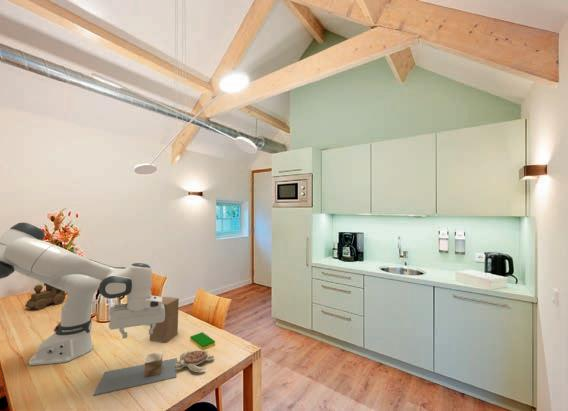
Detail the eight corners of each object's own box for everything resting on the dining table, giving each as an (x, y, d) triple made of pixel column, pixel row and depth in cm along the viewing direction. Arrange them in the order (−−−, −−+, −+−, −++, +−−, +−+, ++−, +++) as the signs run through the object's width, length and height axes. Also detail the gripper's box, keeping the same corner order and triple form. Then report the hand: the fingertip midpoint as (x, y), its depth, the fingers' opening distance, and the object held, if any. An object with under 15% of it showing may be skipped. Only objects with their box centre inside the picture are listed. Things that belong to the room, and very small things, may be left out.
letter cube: (161, 359, 102) (160, 374, 101) (162, 351, 107) (162, 365, 107) (144, 362, 99) (144, 377, 99) (147, 354, 105) (146, 368, 105)
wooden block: (165, 343, 127) (167, 304, 127) (149, 340, 129) (150, 302, 129) (177, 334, 136) (179, 297, 137) (162, 332, 138) (163, 296, 139)
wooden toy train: (58, 300, 186) (59, 278, 186) (68, 302, 182) (69, 279, 183) (23, 309, 167) (24, 285, 167) (33, 312, 163) (34, 287, 164)
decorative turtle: (167, 361, 110) (167, 350, 110) (201, 349, 122) (202, 338, 122) (183, 381, 97) (184, 368, 97) (220, 365, 109) (221, 354, 109)
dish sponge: (202, 336, 135) (202, 331, 135) (215, 345, 126) (215, 341, 126) (189, 340, 130) (190, 336, 130) (202, 351, 120) (202, 346, 121)
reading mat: (93, 395, 89) (93, 394, 89) (104, 372, 102) (104, 371, 102) (176, 377, 100) (176, 376, 100) (177, 358, 113) (177, 357, 113)
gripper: (107, 308, 95) (106, 344, 95) (165, 301, 104) (164, 334, 103) (111, 302, 101) (110, 336, 101) (166, 297, 110) (164, 328, 109)
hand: (137, 335), depth 102 cm, fingers open, 8 cm apart
